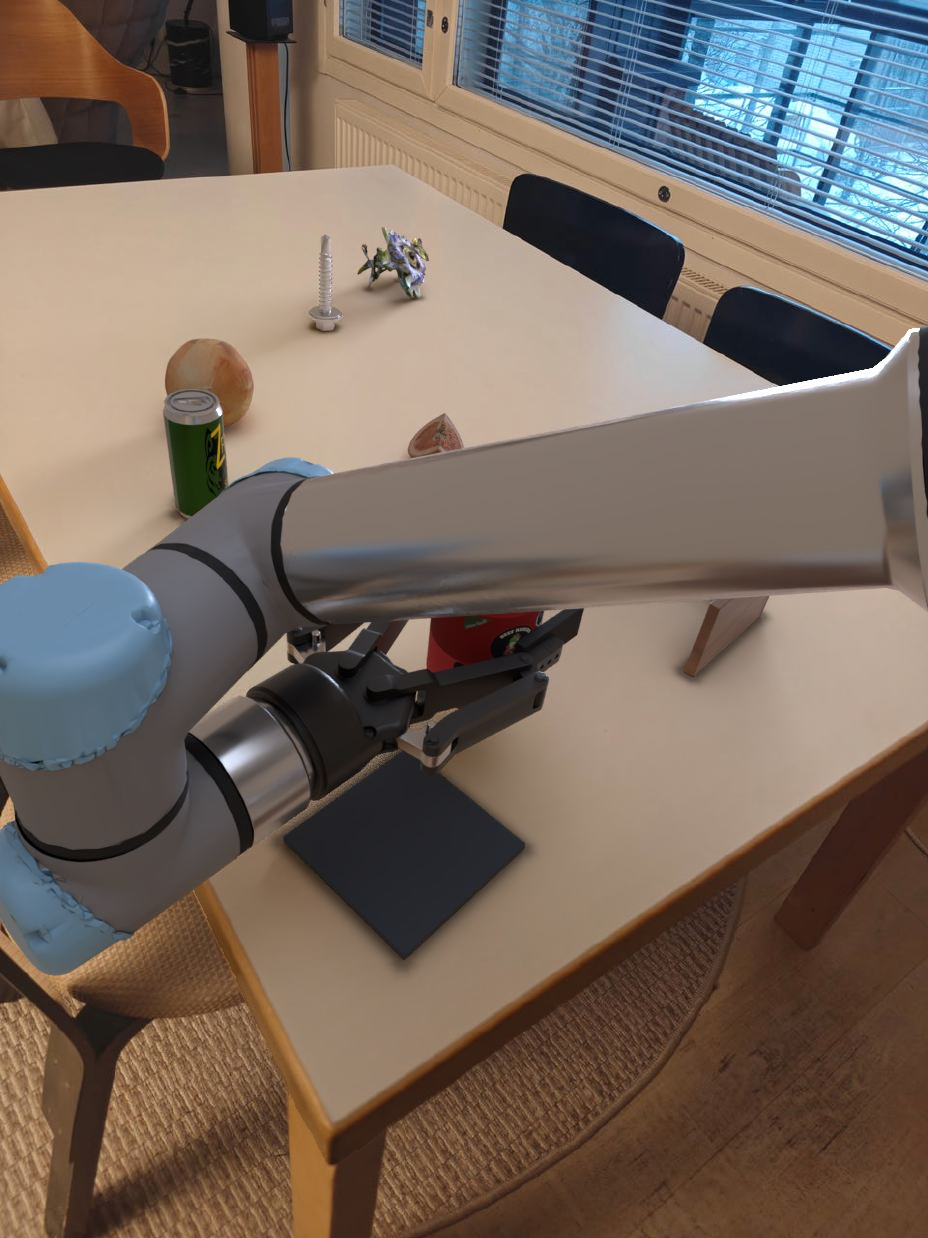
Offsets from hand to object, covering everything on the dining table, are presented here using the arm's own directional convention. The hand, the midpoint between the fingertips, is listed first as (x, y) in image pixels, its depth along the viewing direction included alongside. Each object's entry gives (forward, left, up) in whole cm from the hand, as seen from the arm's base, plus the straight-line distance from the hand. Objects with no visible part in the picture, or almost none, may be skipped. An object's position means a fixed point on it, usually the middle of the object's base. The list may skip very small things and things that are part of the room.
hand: (530, 588), depth 62 cm
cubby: (+3, -22, -13) cm, 26 cm away
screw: (+67, -38, -13) cm, 79 cm away
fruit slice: (+30, -23, -13) cm, 40 cm away
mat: (-4, +15, -13) cm, 20 cm away
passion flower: (+72, -56, -13) cm, 92 cm away
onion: (+53, -9, -13) cm, 56 cm away
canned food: (0, +5, -6) cm, 8 cm away
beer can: (+39, +2, -13) cm, 42 cm away
